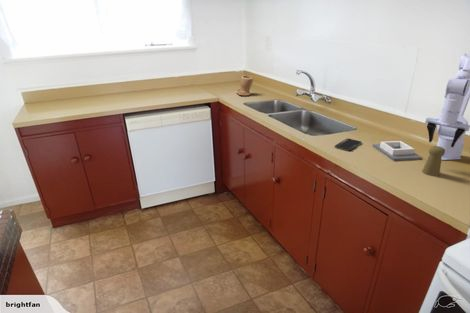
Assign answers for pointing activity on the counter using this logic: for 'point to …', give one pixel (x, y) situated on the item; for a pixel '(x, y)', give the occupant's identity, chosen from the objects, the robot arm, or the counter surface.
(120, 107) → the counter surface
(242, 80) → the stone cup
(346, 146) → the phone
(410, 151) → the socket dock
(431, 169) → the cork
